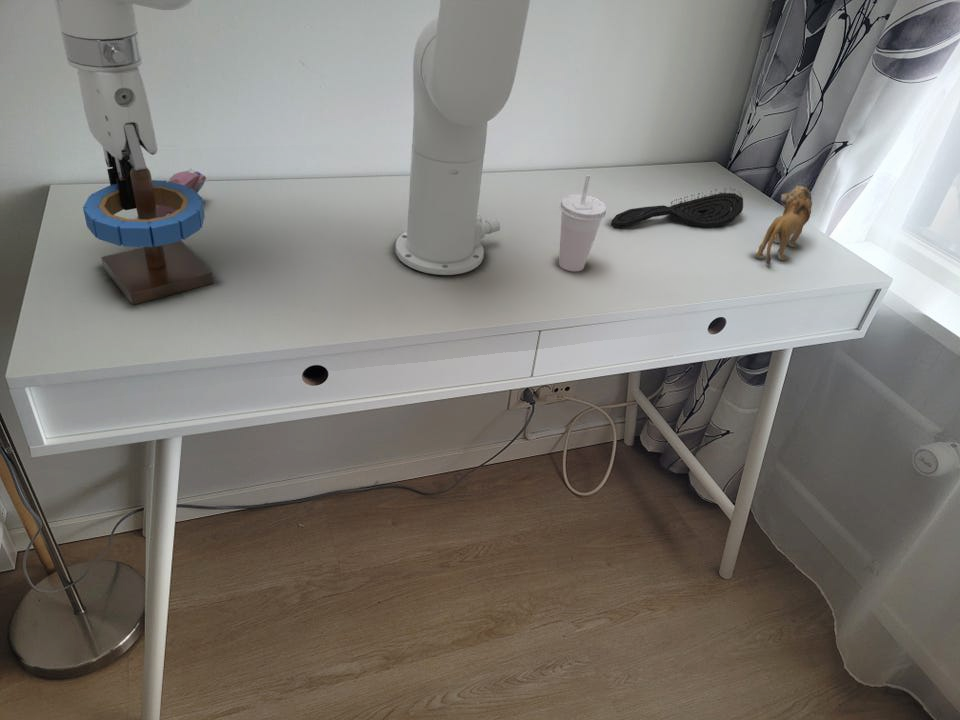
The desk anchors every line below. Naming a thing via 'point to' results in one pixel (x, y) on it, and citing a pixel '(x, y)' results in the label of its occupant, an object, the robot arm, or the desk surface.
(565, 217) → the smoothie
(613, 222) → the hairbrush
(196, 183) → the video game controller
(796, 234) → the lion figurine
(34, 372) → the desk surface
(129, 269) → the stand
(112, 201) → the tape roll
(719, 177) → the desk surface
